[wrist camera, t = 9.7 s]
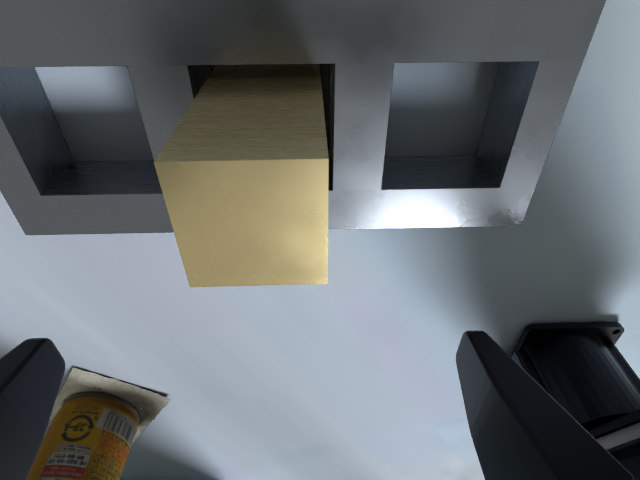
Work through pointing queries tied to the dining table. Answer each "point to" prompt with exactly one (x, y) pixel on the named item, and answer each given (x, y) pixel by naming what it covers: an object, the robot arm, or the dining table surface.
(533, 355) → the robot arm
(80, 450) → the condiment
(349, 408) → the dining table surface
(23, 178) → the gray socket block
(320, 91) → the brass peg
